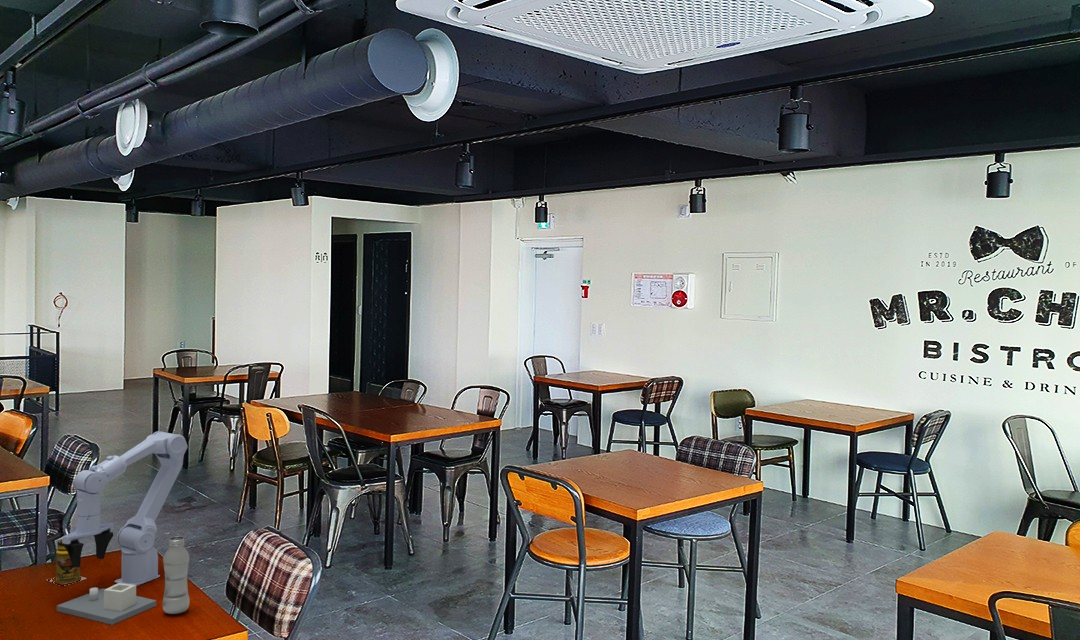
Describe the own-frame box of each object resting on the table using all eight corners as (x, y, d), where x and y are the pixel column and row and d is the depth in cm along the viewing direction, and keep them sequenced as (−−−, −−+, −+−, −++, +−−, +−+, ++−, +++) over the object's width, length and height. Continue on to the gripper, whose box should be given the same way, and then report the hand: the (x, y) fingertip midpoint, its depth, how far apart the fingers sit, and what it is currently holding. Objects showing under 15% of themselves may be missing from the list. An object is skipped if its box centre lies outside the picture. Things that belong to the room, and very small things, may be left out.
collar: (118, 601, 222) (118, 582, 221) (135, 603, 220) (136, 585, 220) (103, 608, 216) (104, 589, 216) (121, 611, 215) (121, 592, 215)
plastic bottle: (179, 618, 215) (180, 543, 214) (156, 615, 217) (157, 540, 216) (194, 609, 222) (195, 536, 221) (172, 606, 223) (173, 533, 222)
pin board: (102, 593, 230) (102, 577, 230) (156, 605, 223) (156, 589, 223) (56, 611, 217) (56, 594, 217) (112, 624, 210) (112, 607, 210)
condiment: (62, 586, 235) (63, 545, 234) (45, 580, 239) (46, 539, 238) (87, 579, 241) (87, 538, 241) (70, 573, 245) (70, 533, 245)
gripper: (101, 506, 236) (100, 552, 236) (54, 518, 222) (54, 568, 223) (119, 509, 233) (118, 556, 234) (73, 522, 220) (72, 572, 220)
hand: (88, 562), depth 228 cm, fingers open, 7 cm apart
